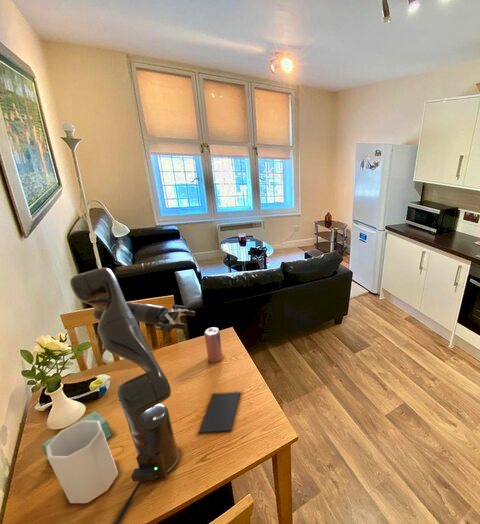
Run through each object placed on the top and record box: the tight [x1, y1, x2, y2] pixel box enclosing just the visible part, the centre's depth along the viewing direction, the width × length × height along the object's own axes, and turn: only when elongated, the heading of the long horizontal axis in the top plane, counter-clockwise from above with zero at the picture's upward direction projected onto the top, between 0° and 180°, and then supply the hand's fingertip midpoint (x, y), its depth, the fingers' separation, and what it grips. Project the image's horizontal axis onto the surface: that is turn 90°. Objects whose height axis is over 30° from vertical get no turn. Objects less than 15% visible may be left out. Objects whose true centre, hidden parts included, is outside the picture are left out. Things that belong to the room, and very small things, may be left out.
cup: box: [46, 421, 119, 504], centre depth 78 cm, size 11×11×18 cm
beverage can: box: [204, 326, 223, 363], centre depth 127 cm, size 6×6×15 cm
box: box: [41, 410, 113, 458], centre depth 89 cm, size 7×14×8 cm, turn 153°
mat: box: [199, 392, 241, 434], centre depth 105 cm, size 16×10×1 cm, turn 8°
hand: (190, 320), depth 121 cm, fingers open, 8 cm apart
